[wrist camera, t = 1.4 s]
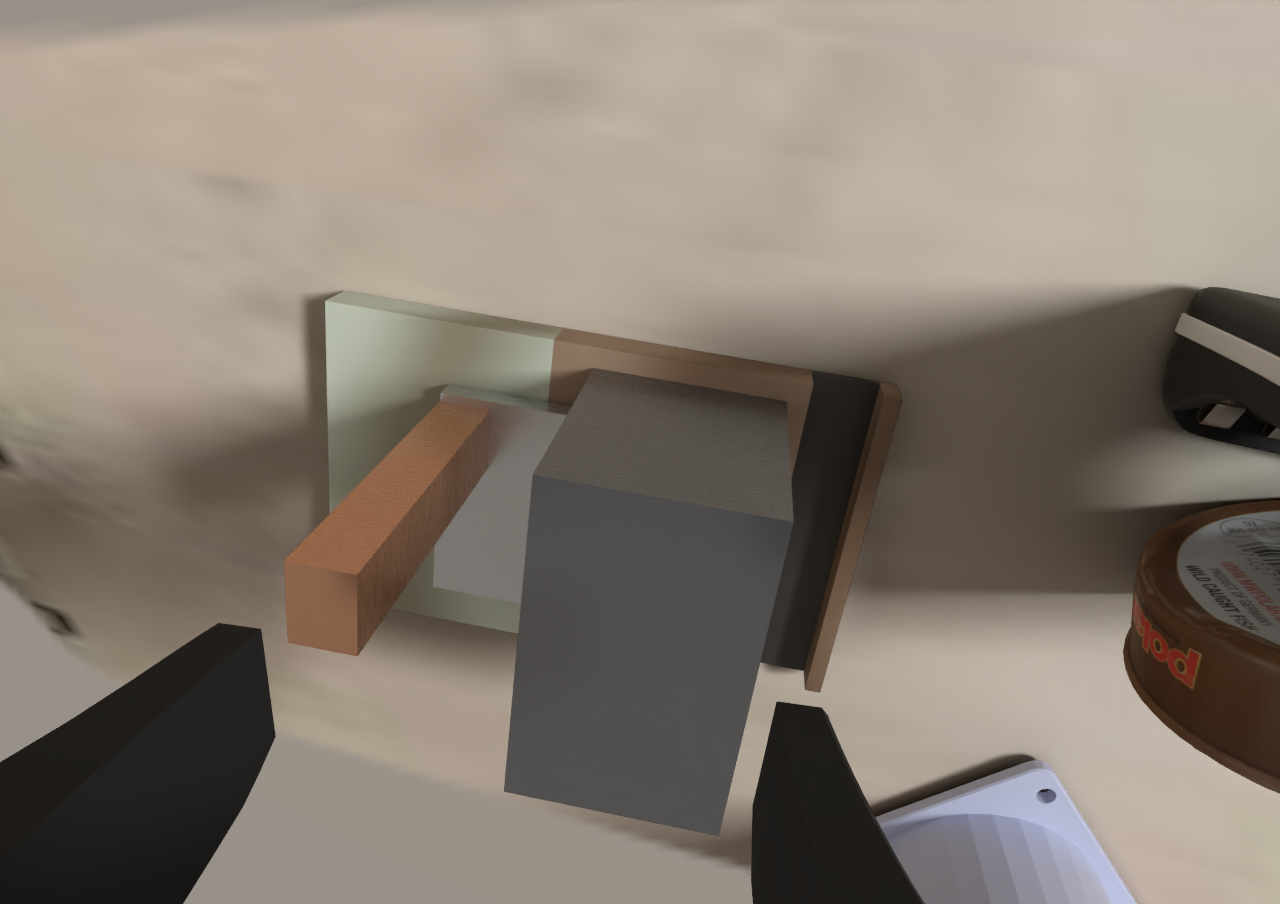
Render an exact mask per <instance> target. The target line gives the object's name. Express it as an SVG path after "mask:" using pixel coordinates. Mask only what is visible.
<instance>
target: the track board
mask: <svg viewBox="0 0 1280 904" xmlns="http://www.w3.org/2000/svg"><path fill="white" fill-rule="evenodd" d="M325 322H326V370H327V417H328V465H329V513H331V512H332V511H333V510H334V509H335V508H336V507H337V506H338V505H339V504H340V503H341V502H342V501H343V500H344V499H345V498H346V497H347V496H348V495H349V494H350V493H351V492H352V491H353V490H354V489H355V488H356V487H357V486H358V484H359V483H360V482H361V481H362V480H363V479H364V478H365V477H366V476H367V475H368V474H369V473H370V472H371V471H372V470H373V469H374V468H375V467H376V466H377V465H378V464H379V463H380V462H381V461H382V460H383V459H384V458H385V457H386V456H387V455H388V454H389V453H390V452H391V451H392V450H393V449H394V448H395V447H396V446H397V445H398V444H399V443H400V442H401V440H402V439H403V438H404V437H405V436H406V435H407V434H408V433H409V432H410V431H411V430H412V429H413V428H414V427H415V426H416V425H417V424H418V423H419V422H420V421H421V420H422V419H423V418H424V417H425V416H426V415H427V414H428V413H429V412H430V411H431V410H432V409H433V408H434V407H435V406H436V405H437V404H438V403H439V402H440V393H441V392H442V391H443V390H444V389H445V388H446V387H447V386H448V385H449V384H450V385H455V386H461V387H467V388H472V389H478V390H484V391H489V392H495V393H501V394H506V395H512V396H518V397H523V398H529V399H535V400H540V401H546V402H552V403H558V404H563V405H569V406H572V405H573V404H574V402H575V400H576V398H577V397H578V395H579V393H580V391H581V390H582V388H583V386H584V384H585V383H586V381H587V379H588V377H589V376H590V374H591V372H592V371H593V369H594V368H598V369H604V370H610V371H615V372H621V373H627V374H633V375H638V376H644V377H650V378H656V379H662V380H667V381H673V382H679V383H685V384H691V385H696V386H702V387H708V388H714V389H719V390H725V391H731V392H737V393H743V394H748V395H754V396H760V397H766V398H771V399H777V400H783V401H787V413H788V430H789V448H790V466H791V484H792V502H793V520H794V523H793V527H792V531H791V535H790V540H789V544H788V548H787V552H786V556H785V561H784V565H783V569H782V573H781V577H780V581H779V586H778V590H777V594H776V598H775V602H774V607H773V611H772V615H771V619H770V623H769V627H768V632H767V636H766V640H765V644H764V648H763V653H762V657H761V661H760V662H762V663H767V664H772V665H777V666H782V667H787V668H793V669H798V670H803V671H804V682H805V690H809V691H814V692H819V693H820V691H821V687H822V684H823V680H824V677H825V673H826V670H827V666H828V662H829V659H830V655H831V652H832V648H833V645H834V641H835V638H836V634H837V630H838V627H839V623H840V620H841V616H842V613H843V609H844V605H845V602H846V598H847V595H848V591H849V588H850V584H851V581H852V577H853V573H854V570H855V566H856V563H857V559H858V556H859V552H860V548H861V545H862V541H863V538H864V534H865V531H866V527H867V524H868V520H869V516H870V513H871V509H872V506H873V502H874V499H875V495H876V491H877V488H878V484H879V481H880V477H881V474H882V470H883V467H884V463H885V459H886V456H887V452H888V449H889V445H890V442H891V438H892V434H893V431H894V427H895V424H896V420H897V417H898V413H899V410H900V406H901V402H902V398H901V395H900V393H899V390H898V388H897V385H894V384H888V383H882V382H876V381H871V380H865V379H859V378H853V377H847V376H841V375H835V374H830V373H824V372H818V371H812V370H806V369H800V368H794V367H788V366H783V365H777V364H771V363H765V362H759V361H753V360H747V359H741V358H736V357H730V356H724V355H718V354H712V353H706V352H700V351H694V350H689V349H683V348H677V347H671V346H665V345H659V344H653V343H647V342H642V341H636V340H630V339H624V338H618V337H612V336H606V335H600V334H595V333H589V332H583V331H577V330H571V329H565V328H559V327H553V326H548V325H542V324H536V323H530V322H524V321H518V320H512V319H507V318H501V317H495V316H489V315H483V314H477V313H471V312H465V311H460V310H454V309H448V308H442V307H436V306H430V305H424V304H418V303H413V302H407V301H401V300H395V299H389V298H383V297H377V296H371V295H366V294H360V293H354V292H348V291H343V292H341V293H339V294H337V295H335V296H333V297H331V298H330V299H328V300H326V301H325ZM434 547H435V545H434ZM434 547H433V548H432V550H431V551H430V553H429V554H428V556H427V557H426V558H425V560H424V561H423V563H422V564H421V566H420V567H419V568H418V570H417V571H416V573H415V574H414V576H413V577H412V579H411V580H410V581H409V583H408V584H407V586H406V587H405V589H404V590H403V592H402V593H401V594H400V596H399V597H398V599H397V600H396V602H395V603H394V604H393V606H392V607H391V609H394V610H399V611H404V612H409V613H414V614H419V615H424V616H429V617H435V618H440V619H445V620H450V621H455V622H460V623H465V624H470V625H476V626H481V627H486V628H491V629H496V630H501V631H506V632H511V633H517V634H518V630H519V619H520V608H521V604H520V603H515V602H509V601H504V600H499V599H494V598H489V597H483V596H478V595H473V594H468V593H463V592H458V591H452V590H447V589H442V588H437V587H433V573H434Z"/></svg>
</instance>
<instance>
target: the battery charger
mask: <svg viewBox="0 0 1280 904" xmlns="http://www.w3.org/2000/svg"><path fill="white" fill-rule="evenodd" d="M1175 332H1177V333H1178V336H1177V338H1176V340H1175V343H1174V345H1173V347H1172V350H1171V352H1170V354H1169V357H1168V359H1167V363H1166V369H1165V375H1164V379H1163V383H1162V393H1163V403H1164V407H1165V409H1166V411H1167V412H1168V414H1169V416H1170V417H1171V418H1172V420H1173V421H1174V422H1175V423H1176V424H1177V425H1179V426H1180V427H1182V428H1183V429H1185V430H1187V431H1189V432H1191V433H1194V434H1197V435H1199V436H1203V437H1206V438H1209V439H1213V440H1217V441H1222V442H1227V443H1232V444H1236V445H1241V446H1246V447H1251V448H1256V449H1260V450H1265V451H1270V452H1275V453H1280V299H1278V298H1273V297H1268V296H1263V295H1258V294H1253V293H1248V292H1242V291H1237V290H1232V289H1227V288H1220V287H1208V288H1205V289H1202V290H1201V291H1200V292H1199V293H1197V294H1196V296H1195V298H1194V299H1193V301H1192V303H1191V305H1190V308H1189V310H1188V312H1187V313H1182V314H1181V317H1180V319H1179V322H1178V324H1177V326H1176V329H1175Z"/></svg>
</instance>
